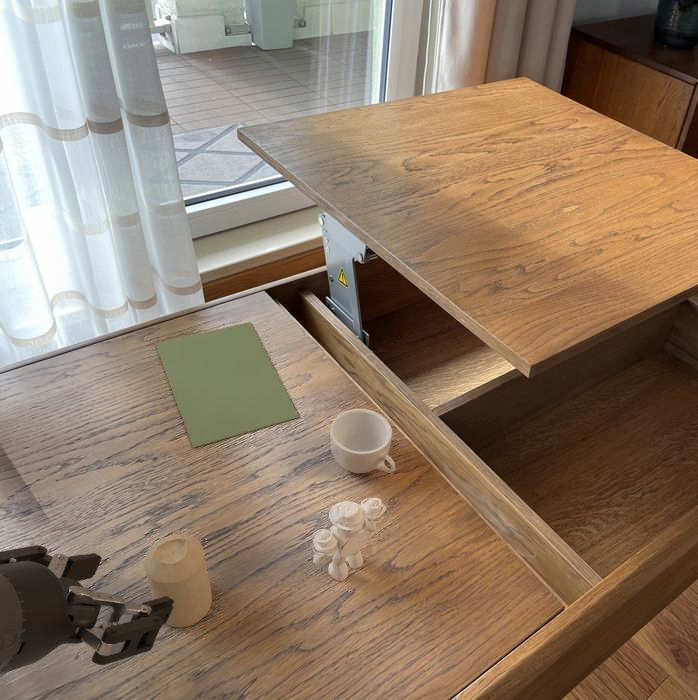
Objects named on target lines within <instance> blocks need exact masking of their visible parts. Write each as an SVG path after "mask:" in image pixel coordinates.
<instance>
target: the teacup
mask: <svg viewBox="0 0 698 700" xmlns="http://www.w3.org/2000/svg"><path fill="white" fill-rule="evenodd" d="M329 437H330V438H329V439H330V448H331V449H330V450H331V453H332V457H333V459H334V460H335V462H336V463H337V464H338V465H339V466H340V467H341V468H342V469H344V470H346V471H347V472H351V473H353V474H366V473H370V472H373V471H375V470H378V471H381V472H384V473H388V474H392V473H393V472H395V471H396V463H395V461H394V460H393V458H392V457H391V455H389V453H390V448H391V443H392V439H393V429H392V426H391V423H390V422H389V421H388V420H387V418H386V417H385V416H383V415H382V414H380V413H379V412H378V411H377V412H376V411H374V410H371V409H367V408H352V409H349V410H346V411H343V412H341V413H340V414H338V415H336V416H335V418H334V419H333V421H332V422H331V425H330V430H329ZM385 461H386V462H388V463H389V465H390V468H389V467H388V466H386V464H385Z"/></svg>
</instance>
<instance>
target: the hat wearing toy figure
mask: <svg viewBox="0 0 698 700" xmlns="http://www.w3.org/2000/svg"><path fill="white" fill-rule="evenodd" d="M386 510H387V506H386V504H385V503H383V501H382V499H381V498H379V497H371V495H370V496H369V497H366V498H363V500H361V502H360V504H359V503H357V502H354V501H348V500H347V501H345V500H344V501H340V502H337V503H336V504H334V505H333V506H332V507H331V508H330V510H329V511H328V519H329V521H330V522H331V523H332V524H333V525H332V526H330V528H329V529H326V528H320V529H317V530H316V531H314V532H313V533H312V535H311V537H313V539H311V541H312V543H311V549H312V551H313V560H312V562H313V564H314V565H315V567H316V568H319V567H320V565H322V564H324V563H325V562H326V560H327V558H329V557H330V558H331V557H332V562H330V563H329V564H328V567H327V572H328V574H329V575H330V577H331V578H332V579H334V580H335V581H337V582H343V581H345V580H347V578H348V576H349V569H348V566H347V564H348V565H349V568H351V569H354V570H357V569H359V568H361V567H362V566H363V564H364V557H363V555H362V552H361V549H362V548H363V547H364V546H365V544H366V543H367V542H368V540H369V538H370V535H371V533H372V532H375V531H377V527H378V526H377V524H380V523H382V522H383V520H384V518H385V515H386V514H385V512H386ZM382 515H383V516H382ZM380 517H382V518H380ZM379 518H380V520H377V519H379Z"/></svg>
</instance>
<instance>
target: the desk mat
mask: <svg viewBox="0 0 698 700" xmlns="http://www.w3.org/2000/svg"><path fill="white" fill-rule="evenodd" d="M154 344H155V347H156V350H157V352H158V356H159V358H160V361H161V363H162V366H163V369H164V371H165V375H166V377H167V380H168V383H169V386H170V388H171V391H172V394H173V397H174V399H175V402H176V405H177V408H178V411H179V414H180V416H181V418H182V421H183V424H184V426H185V429H186V432H187V435H188V437H189V440H190V443H191V446H192V449H195V448H199V447H203V446H205V445H209V444H213V443H216V442H220V441H223V440H227V439H230V438H233V437H237V436H241V435H244V434H247V433H251V432H255V431H258V430H262V429H265V428H269V427H272V426H275V425H278V424H282V423H285V422H289V421H293V420H295V418H296V419H299V418H300V415H299V413H298V411H297V410H296V408H295V406H294V403H293V402H292V400H291V398H290V396H289V394H288V392H287V390H286V388H285V386H284V385H283V383H282V380H281V379H280V377H279V374H278V373H277V371H276V369H275V367H274V365H273V363H272V361H271V359H270V358H269V355H268V354H267V352H266V349H265V348H264V346H263V344H262V342H261V340H260V338H259V336H258V334H257V332H256V330H255V328H254V326H253V325H252V323H251V321H249V322H244V323H240V324H236V325H231V326H226V327H221V328H218V329H213V330H208V331H203V332H199V333H195V334H190V335H185V336H181V337H177V338H171V339H167V340H163V341H159V342H155V343H154ZM292 419H293V420H292Z"/></svg>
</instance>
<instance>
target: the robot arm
mask: <svg viewBox="0 0 698 700" xmlns="http://www.w3.org/2000/svg"><path fill="white" fill-rule="evenodd" d="M47 552H48V548H47V547H45V546H43V545H38V544H36V545H29V546H25V547H19V548H14V549H13V548H12V549H6V550H2V551H0V675H2V674H7V673H9V672H12V671H15V670H17V669H21V668H24V667H27V666H31V665H32V664H33V665H34V664H36V663H38V661H41V660H42V659H43V658H45V657H47V656H48V655H49V654H51V653H52V652H53V651H54V650H56V649H58V647H60V646H61V645H62V646H63V645H66V644H67V645H68V644H69V645H70V644H71V645H72V644H73V645H77V644H82V643H84V644H86V645H87V646H89V647H90V648H92V649H93V650H94V653H93V654H92V657H91V662H92V663H93V664H95V665H99V666H107V665H109V664H112V663H115V662H118V661H121V660H125V659H128V658H131V657H135V656H137V655H141V654H144V653H147V652H151V650H152V649H153V647H154V644H155V641H156V639H157V636H158V634H159V633H160V630H161V629H162V627H163V625H167V624H166V622H167V621H168V618H169V616H170V614H171V612H172V610H173V606H172V605H173V603H174V600H173V599H171V598H170V597H168V596H165V597H161V598H157V599H154V600H153V599H150V600H148V601H143V602H142V603H136V602H128V601H125V600H124V598H123V596H122V595H120V594H115V593H114V594H113V593H108V592H107V593H106V592H99V591H93V590H91V589H89V587H85V586H84V585H83V584H81V583H80V582H81V581H86V580H91V579H92V578H93V577H94V576H95V574H96V573H97V571H98V568H99V566H100V565H101V562H102V559H103V558H102V556H101V555H99V554H97V553H96V552H92V553H86V554H78V555H77V554H75V555H70V556H67V555H65V554H63V553H54V554H53V555H49V554H48V553H47ZM102 607H108V610H107V612H106V614H105V616H104V619H103V620H102V623H101V624H100V625H98V626H96V624H97V621H98V618H99V615H100V612H101V609H102ZM124 615H128V616H132V617H131V618H130V621H127V622H123V623H119V622H120V619H121V617H122V616H124Z"/></svg>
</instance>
